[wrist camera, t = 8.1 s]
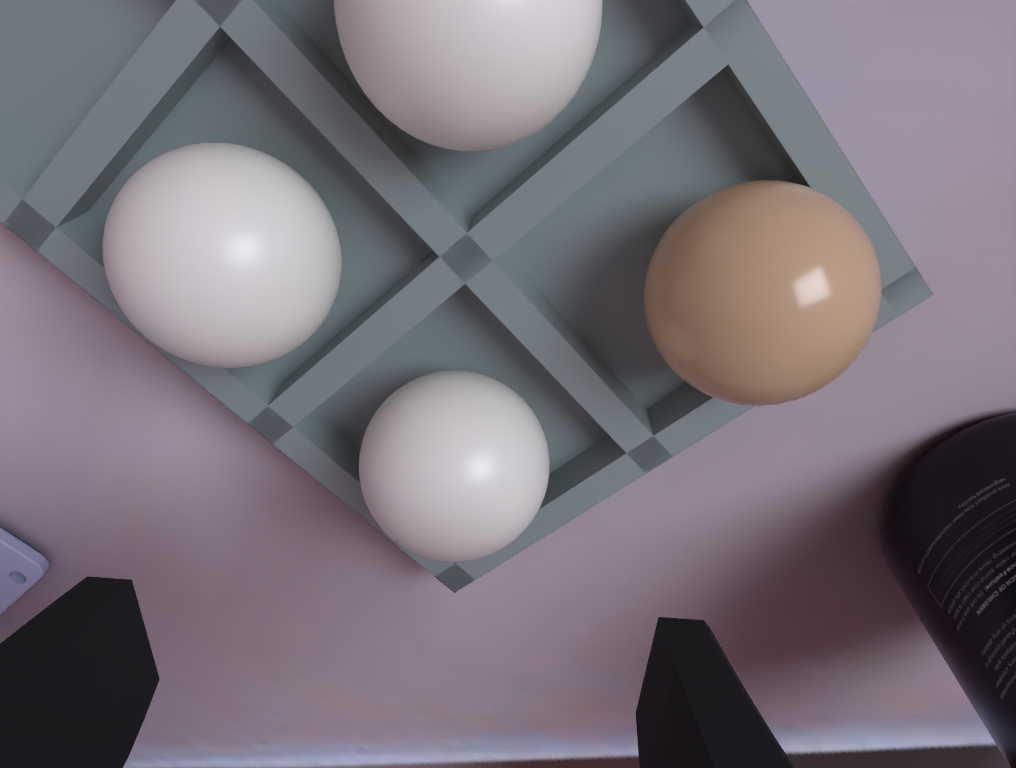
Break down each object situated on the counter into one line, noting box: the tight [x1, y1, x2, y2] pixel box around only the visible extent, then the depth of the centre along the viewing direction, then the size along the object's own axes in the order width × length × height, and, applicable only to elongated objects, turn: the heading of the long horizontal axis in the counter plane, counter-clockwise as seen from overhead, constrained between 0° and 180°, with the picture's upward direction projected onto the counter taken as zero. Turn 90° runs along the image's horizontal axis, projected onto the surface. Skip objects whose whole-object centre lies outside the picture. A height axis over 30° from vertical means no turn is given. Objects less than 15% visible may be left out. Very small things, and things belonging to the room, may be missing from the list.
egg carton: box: [0, 0, 933, 593], centre depth 13 cm, size 14×21×5 cm
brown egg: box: [644, 180, 882, 406], centre depth 14 cm, size 4×4×4 cm
